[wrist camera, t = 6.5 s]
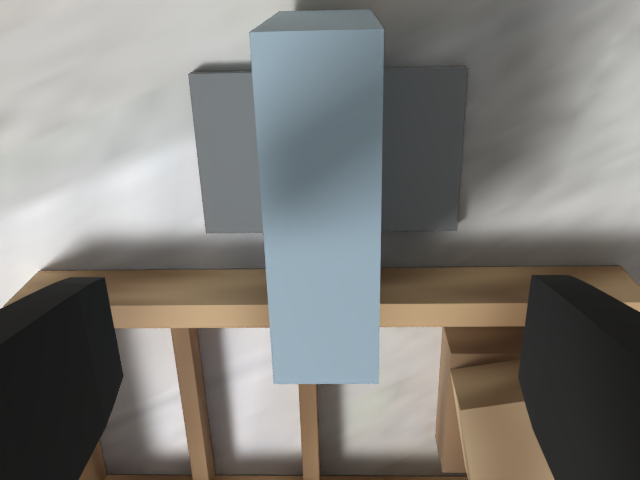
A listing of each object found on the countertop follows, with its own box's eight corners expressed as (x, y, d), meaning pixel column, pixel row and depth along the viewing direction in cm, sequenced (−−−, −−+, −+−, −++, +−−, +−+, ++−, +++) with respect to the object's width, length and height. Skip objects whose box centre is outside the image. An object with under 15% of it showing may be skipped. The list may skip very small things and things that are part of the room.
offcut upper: (557, 353, 19) (579, 393, 18) (564, 454, 21) (585, 500, 19) (449, 369, 20) (460, 410, 18) (465, 467, 21) (476, 513, 20)
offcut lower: (556, 318, 21) (578, 354, 19) (539, 430, 23) (557, 474, 21) (441, 317, 22) (450, 353, 20) (434, 429, 24) (442, 472, 22)
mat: (465, 66, 18) (468, 67, 17) (454, 225, 20) (456, 230, 19) (191, 71, 18) (188, 74, 18) (208, 228, 20) (205, 233, 20)
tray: (620, 265, 20) (654, 302, 18) (576, 492, 24) (599, 545, 22) (38, 270, 21) (3, 306, 19) (90, 489, 25) (66, 540, 23)
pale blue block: (370, 8, 17) (384, 28, 11) (368, 269, 20) (378, 383, 14) (279, 11, 17) (248, 32, 11) (292, 270, 20) (273, 383, 15)
